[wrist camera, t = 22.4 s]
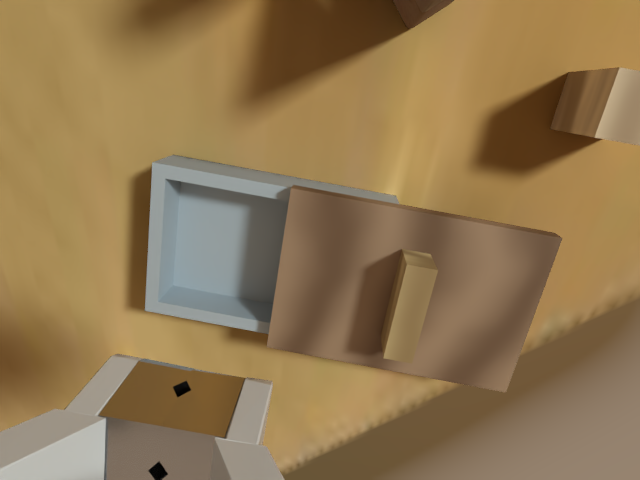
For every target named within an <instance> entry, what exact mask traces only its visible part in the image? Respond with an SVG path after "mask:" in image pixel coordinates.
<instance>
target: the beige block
mask: <svg viewBox="0 0 640 480" xmlns="http://www.w3.org/2000/svg"><path fill="white" fill-rule="evenodd" d="M550 129H552V130H557V131H563V132H568V133H573V134H579V135H584V136H589V137H595V138H600V139H606V140H611V141H617V142H623V143H628V144H634V145H640V71H637V70H631V69H625V68H609V69H598V70H588V71H577V72H568V75H567V78H566V81H565V84H564V87H563V90H562V93H561V96H560V100H559V103H558V106H557V109H556V112H555V115H554V118H553V121H552V124H551V127H550Z"/></svg>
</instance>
